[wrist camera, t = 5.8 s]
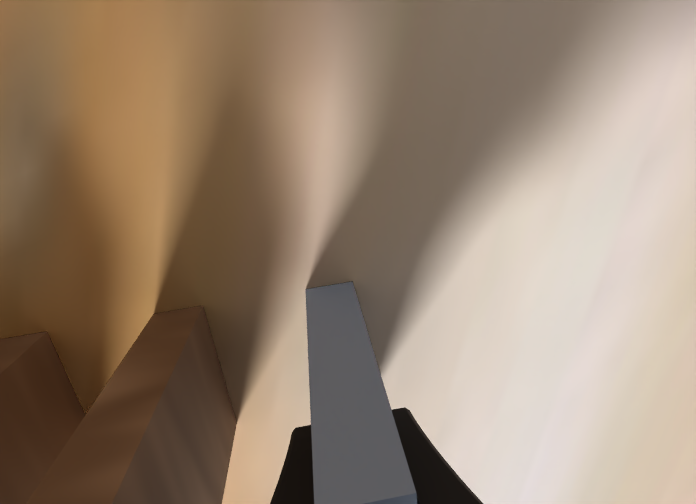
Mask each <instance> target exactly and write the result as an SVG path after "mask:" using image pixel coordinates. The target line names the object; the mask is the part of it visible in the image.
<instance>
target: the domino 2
mask: <svg viewBox="0 0 696 504" xmlns="http://www.w3.org/2000/svg"><path fill="white" fill-rule="evenodd" d="M236 424H237V422H236V419H235V415H234V412H233V408H232V405H231V401H230V398H229V394H228V391H227V387H226V384H225V380H224V377H223V373H222V370H221V367H220V363H219V360H218V356H217V353H216V349H215V346H214V342H213V339H212V335H211V332H210V328H209V325H208V322H207V318H206V315H205V311H204V308H203V306H198V307H192V308H186V309H180V310H174V311H168V312H162V313H156V314H153V316H152V317H151V319H150V320H149V322H148V323H147V325H146V326H145V328H144V329H143V331H142V332H141V333H140V335H139V336H138V338H137V339H136V341H135V342H134V344H133V345H132V347H131V348H130V350H129V351H128V353H127V354H126V356H125V357H124V359H123V360H122V362H121V363H120V365H119V366H118V368H117V369H116V371H115V372H114V374H113V375H112V377H111V378H110V379H109V381H108V382H107V384H106V385H105V387H104V388H103V390H102V391H101V393H100V394H99V396H98V397H97V399H96V400H95V402H94V403H93V405H92V406H91V408H90V409H89V411H88V412H87V414H86V415H85V417H84V418H83V420H82V421H81V423H80V424H79V425H78V427H77V428H76V430H75V431H74V433H73V434H72V436H71V437H70V439H69V440H68V442H67V443H66V445H65V446H64V448H63V449H62V451H61V452H60V454H59V455H58V457H57V458H56V460H55V461H54V463H53V464H52V466H51V467H50V469H49V470H48V472H47V473H46V474H45V476H44V477H43V479H42V480H41V482H40V483H39V485H38V486H37V488H36V489H35V491H34V492H33V494H32V495H31V497H30V498H29V500H28V501H27V503H26V504H222V499H223V494H224V488H225V483H226V478H227V472H228V467H229V462H230V456H231V451H232V446H233V440H234V435H235V430H236Z"/></svg>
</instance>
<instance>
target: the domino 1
mask: <svg viewBox="0 0 696 504" xmlns="http://www.w3.org/2000/svg"><path fill="white" fill-rule="evenodd" d="M84 417H85V414H84V412H83V410H82V407H81V405H80V403H79V401H78V399H77V396H76V394H75V392H74V390H73V388H72V385H71V383H70V381H69V379H68V377H67V374H66V372H65V370H64V368H63V366H62V363H61V361H60V359H59V357H58V355H57V352H56V350H55V348H54V346H53V344H52V342H51V339H50V337H49V335H48V333H47V332H41V333H35V334H29V335H23V336H16V337H10V338H4V339H0V504H26V503H27V501H28V500H29V498H30V497H31V495H32V494H33V492H34V491H35V489H36V488H37V486H38V485H39V483H40V482H41V480H42V479H43V477H44V476H45V474H46V473H47V472H48V470H49V469H50V467H51V466H52V464H53V463H54V461H55V460H56V458H57V457H58V455H59V454H60V452H61V451H62V449H63V448H64V446H65V445H66V443H67V442H68V440H69V439H70V437H71V436H72V434H73V433H74V431H75V430H76V428H77V427H78V425H79V424H80V423H81V421H82V420H83V418H84Z"/></svg>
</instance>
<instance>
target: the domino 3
mask: <svg viewBox="0 0 696 504" xmlns="http://www.w3.org/2000/svg"><path fill="white" fill-rule="evenodd" d="M306 310H307V335H308V360H309V385H310V410H311V435H312V459H313V484H314V504H417V494H416V490H415V487H414V483H413V480H412V477H411V473H410V470H409V467H408V463H407V460H406V457H405V454H404V450H403V447H402V444H401V440H400V437H399V434H398V430H397V427H396V424H395V420H394V417H393V414H392V411H391V407H390V404H389V401H388V397H387V394H386V391H385V387H384V384H383V381H382V377H381V374H380V371H379V368H378V364H377V361H376V358H375V354H374V351H373V348H372V344H371V341H370V338H369V334H368V331H367V328H366V324H365V321H364V318H363V315H362V311H361V308H360V305H359V301H358V298H357V295H356V291H355V288H354V285H353V281H352V282H346V283H340V284H334V285H328V286H322V287H316V288H310V289H306Z"/></svg>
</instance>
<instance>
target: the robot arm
mask: <svg viewBox="0 0 696 504" xmlns="http://www.w3.org/2000/svg"><path fill="white" fill-rule="evenodd" d="M391 411H392V414H393V417H394V420H395V424H396V427H397V430H398V434H399V437H400V440H401V444H402V447H403V450H404V454H405V457H406V460H407V463H408V467H409V470H410V473H411V477H412V480H413V483H414V487H415V490H416V494H417V504H483V503H482V502H481V501H480V500H479V499H478V497H477V496H476V495H475V494H474V493H473V492H472V491H471V490H470V489H469V488H468V487H467V485H466V484H465V483H464V482H463V481H462V480H461V479H460V477H459V476H458V475H457V474H456V473H455V471H454V470H453V469H452V468H451V467H450V465H449V464H448V463H447V462H446V461H445V459H444V458H443V457H442V456H441V455H440V453H439V452H438V451H437V449H436V448H435V447H434V446H433V444H432V443H431V442H430V440H429V439H428V438H427V436H426V435H425V433H424V432H423V431H422V429H421V428H420V426H419V425H418V423H417V422H416V420H415V419H414V417H413V415H412V414H411V412H410V410H408V409H407V408H399V409H394V410H391ZM270 504H314V484H313V459H312V435H311V425H308V426H303V427H298V428H295V429H294V430H293V432H292V435H291V440H290V444H289V448H288V452H287V455H286V459H285V462H284V465H283V468H282V472H281V475H280V478H279V481H278V484H277V486H276V489H275V492H274V495H273V497H272V500H271V503H270Z"/></svg>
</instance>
